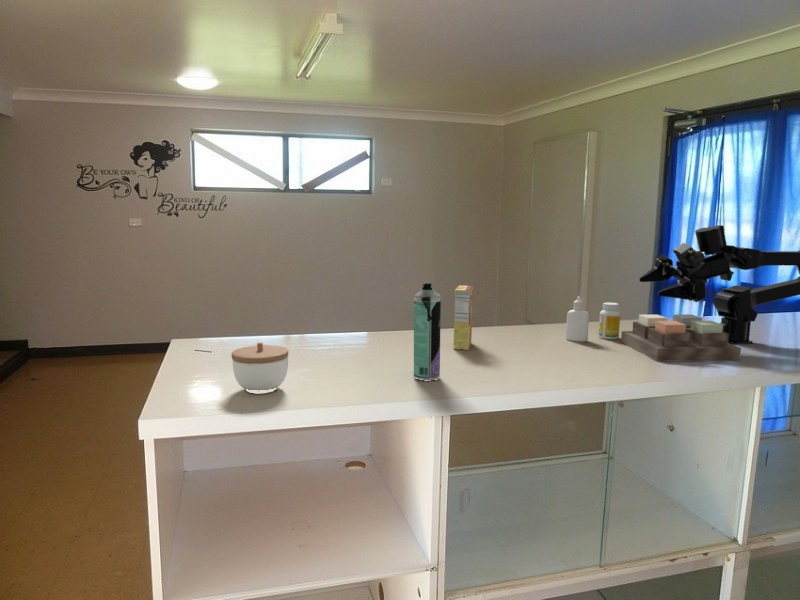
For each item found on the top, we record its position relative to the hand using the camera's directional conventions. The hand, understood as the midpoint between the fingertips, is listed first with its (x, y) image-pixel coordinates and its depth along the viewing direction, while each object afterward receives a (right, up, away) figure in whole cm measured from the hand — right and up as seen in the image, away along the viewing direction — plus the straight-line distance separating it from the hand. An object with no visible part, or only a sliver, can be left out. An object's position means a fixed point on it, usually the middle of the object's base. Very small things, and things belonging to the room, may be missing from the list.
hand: (648, 286), depth 154 cm
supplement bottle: (-7, -14, +9) cm, 18 cm away
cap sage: (+9, -12, -12) cm, 19 cm away
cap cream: (0, -11, -3) cm, 11 cm away
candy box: (-49, -16, -2) cm, 52 cm away
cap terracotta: (0, -12, -12) cm, 17 cm away
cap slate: (+9, -11, -3) cm, 14 cm away
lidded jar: (-92, -21, -39) cm, 103 cm away
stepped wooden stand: (+4, -16, -7) cm, 18 cm away
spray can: (-60, -20, -31) cm, 70 cm away
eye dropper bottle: (-17, -15, +5) cm, 23 cm away
